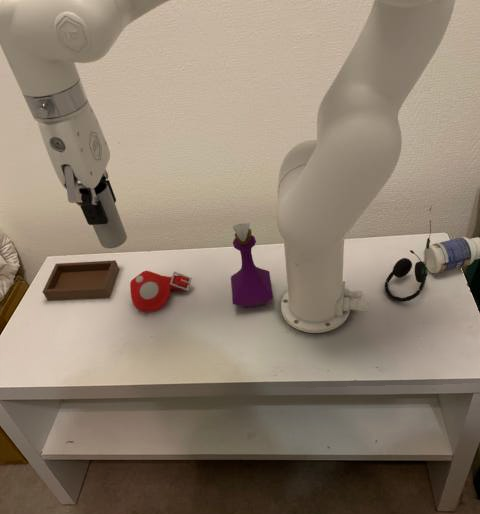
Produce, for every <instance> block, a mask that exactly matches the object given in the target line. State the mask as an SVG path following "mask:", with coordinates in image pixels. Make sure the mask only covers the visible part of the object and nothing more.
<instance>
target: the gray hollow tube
mask: <svg viewBox="0 0 480 514" xmlns="http://www.w3.org/2000/svg"><path fill="white" fill-rule="evenodd" d="M94 190H95V193H96V197H97V200H100V201H101V203H102V206H103V208H104V211H105V213H106V216H107V218H108V223H107V224H100V225H92V228H93V230H94V232H95V234H96V237H97V239H98V241H99V244H100V245H101V247H102V248H104V249H116V248H119V247H120V246H122V245H124V244H125V242H126V241H127V239H128V235H127V232H126V230H125V228H124V224H123V221H122V219H121V217H120V214H119V211H118V208H117V206H116V202H115V203H114V200H113V197H112V195H111V192H110V189H109V187H108V184H107V182H106V181H104V180H100V182H99V183H98V185H97V186H96V187H95V188H94ZM80 191H81V194H87V195H89V193H88V189H80Z"/></svg>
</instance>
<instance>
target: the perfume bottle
mask: <svg viewBox="0 0 480 514" xmlns="http://www.w3.org/2000/svg"><path fill="white" fill-rule="evenodd" d="M250 226H251V225H250V223H249V222H247V223H246V222H245V223H244V222H243V223H238V224H233V226H232V229H233V231H234V239H233V240H232V245H233V248H234V249H236V250H237V251H239V253H240V256H241V259H240V260H241V267H240V269H239V270H238V271H237V272H236V273H234V274H232V275H231V276H230V286H231V296H232V297H231V298H232V301H231V302H232V305H234V306H237V307H240V308H243V309H248V308H255V307H263V306H266V305H267V304H268V303H270V302H271V301H272V300H273V299H274V293H273V288H272V286H273V285H272V280H271V279H272V278H271V274H270V273H271V272H270V271H269V270H267V269H264V268H260V267H257V266H256V264H255V262H254V258H253V254H252V248H254V247H255V245H256V244H257V240H256V237H255V236H254V235H253V233H252V232H253V231H252V228H250Z"/></svg>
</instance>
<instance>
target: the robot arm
mask: <svg viewBox="0 0 480 514" xmlns="http://www.w3.org/2000/svg"><path fill="white" fill-rule="evenodd" d="M170 1H171V0H0V47H1V49H2V52H3V54H4V57H5V58H6V61H7V63H8V66H9V67H10V69H11V71H12V74H13V76H14V78H15V80H16V82H17V85H18V87H19V90H20V91H21V93H22V96H23V98H24V100H25V102H26V105H27V107H28V109H29V112H30V114H31V115H32V118H33V120H34V121H36V122H37V125H38V128H39V131H40V134H41V138H42V141H43V143H44V146H45V149H46V153H47V155H48V157H49V159H50V162H51V164H52V167H53V169H54V172H55V174H56V176H57V178H58V180H59V182H60V184H61V185H62V187H63V188H64V189H65V190H66V195H67V200H68V203H69V204H76V205H77V206H78V207H80V210H81V211H82V214H83V216H84V218H85V220H86V223H87V224H88V225H89V226H93V225H100V224H107V223H108V218H107V216H106V213H105V211H104V208H103V206H102V203H101V201H100V200H97V197H96V193H95V190H94V188H95V187H96V186H97V185H98V183H99V182H100V180H104V181H106V182H107V184H108V187H109V189H110V192H111V195H112V197H113V200H114V203H115V204H116V202H117V198H116V195H115V193H114V190H113V187H112V185H111V182H110V179H109V173H108V171H107V166H108V164H109V161H110V159H111V151H110V148H109V146H108V143H107V140H106V137H105V135H104V133H103V130H102V128H101V124H100V123H99V121H98V118H97V116H96V114H95V111H94V110H93V107H92V105H91V104H90V101H89V99H88V96H87V93H86V91H85V88H84V85H83V83H82V79H81V77H80V74H79V72H78V71H79V70H78V68H77V65H76V64H77V63H78V64H90V63H94V62H97V61H100V60H101V59H103V58H105V56H106V55H107V54H108V53H109V52H110V50H111V48H112V47H113V46H114V44H115V43H116V42H117V40H118V38H119V37H120V35H121V34H122V33H123V32H124V30H125V29H126V28H127V26H129V25H130V24H131V23H133V22H135V21H136V20H138V19H140V18H141V17H143V16H144V15H146V14H147V13H149V12H151V11H153V10H154V9H157V7H160V6H162V5H164V4H165V3H167V2H170ZM455 3H456V0H373V3H372V7H371V9H370V11H369V14H368V16H367V19H366V21H365V23H364V25H363V27H362V29H361V31H360V34H359V35H358V37H357V39H356V41H355V43H354V45H353V47H352V48H351V50H350V52H349V54H348V56H347V57H346V60H345V61H344V63H343V64H342V66H341V67H340V70H339V71H338V73H337V75H336V76H335V78H334V79H333V81H332V83H331V84H330V87H329V88H328V90H327V91H326V93H325V94H324V96H323V98H322V100H321V102H320V104H319V106H318V111H317V117H316V139H309V140H304V141H302V142H299V143H297V144H295V146H293V147H292V148H291V149H290V150H288V152H287V153H286V155H285V156H284V158H283V160H282V162H281V165H280V168H279V172H278V181H277V204H276V206H277V207H276V225H277V229H278V231H279V234H280V236H281V238H282V239H283V246H284V247H283V249H284V258H285V269H286V270H285V271H286V283H287V284H286V285H287V290H286V291H285V293H284V295H283V296H282V299H281V301H280V302H281V303H280V311H281V315H282V318H284V321H285V322H286V323H287V324H288V325H290V326H291V327H292V328H294V329H296V330H298V331H301V332H304V333H308V334H309V333H310V334H321V333H322V334H323V333H327V332H330V331H333V330H335V329H337V328H339V327H340V326H341V325H343V324H344V323H345V322H346V321H347V319H348V317H349V315H350V313H351V310H352V311H353V310H354V311H357V312H368V309H369V307H368V306H369V300H367V299H365V300H364V299H362V296H363V291H362V290H349V288H346V281H345V280H343V279H344V256H345V255H344V253H345V236H346V235H347V233H349V231H350V230H351V229H352V228H353V227H354V225H355V224H356V223H357V221H358V220H359V219H360V218H361V217H362V215H363V214H364V212H365V211H366V210H367V209H368V208H369V206H370V205H371V204H372V202H373V200H374V199H375V198H376V197H377V196H378V194H379V193H380V192H381V190H382V189H383V188H384V187H385V185H386V184H387V182H389V180H390V179H391V177H392V175H393V173H394V171H395V169H396V166H397V165H398V162H399V159H400V156H401V152H402V143H403V142H402V141H403V140H402V131H401V125H400V122H399V113H400V110H401V108H402V106H403V104H404V103H405V101H406V99H407V98H408V97H409V94H411V92H412V90H413V89H414V87H415V86H416V84H417V82H418V81H419V80H420V78H421V76H422V75H423V73H424V71H425V70H426V68H427V67H428V65H429V64H430V62H431V60H432V59H433V57H434V55H435V53H436V52H437V50H438V48H439V46H440V44H441V42H442V41H443V38H444V36H445V35H446V32H447V29H448V27H449V24H450V21H451V18H452V14H453V11H454V8H455ZM80 189H88V193H89V195H87V194H81V191H80Z"/></svg>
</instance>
